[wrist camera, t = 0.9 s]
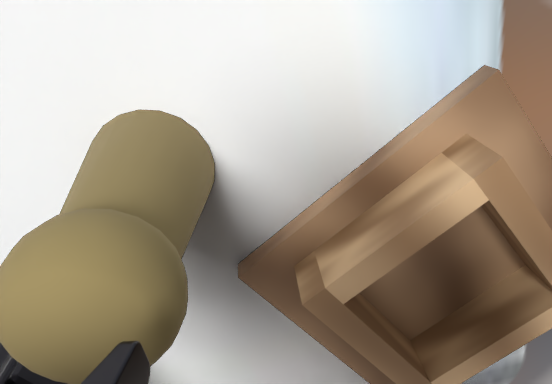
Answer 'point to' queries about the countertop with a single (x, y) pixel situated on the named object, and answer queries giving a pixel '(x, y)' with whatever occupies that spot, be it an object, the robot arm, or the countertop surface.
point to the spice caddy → (425, 246)
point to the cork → (109, 251)
